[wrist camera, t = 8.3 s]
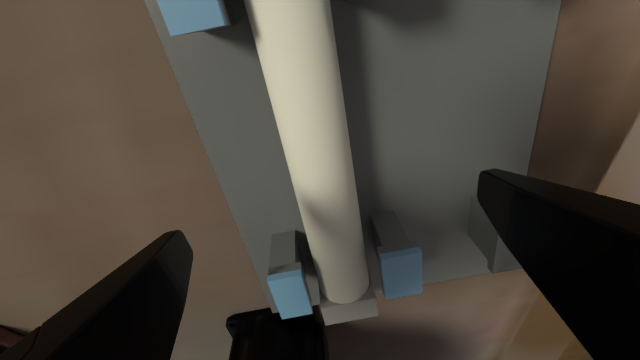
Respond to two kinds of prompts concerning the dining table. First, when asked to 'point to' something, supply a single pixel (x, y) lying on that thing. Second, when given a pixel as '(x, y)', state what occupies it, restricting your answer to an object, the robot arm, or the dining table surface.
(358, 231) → the cream cylindrical rod
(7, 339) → the letter holder
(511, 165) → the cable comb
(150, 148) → the dining table surface
